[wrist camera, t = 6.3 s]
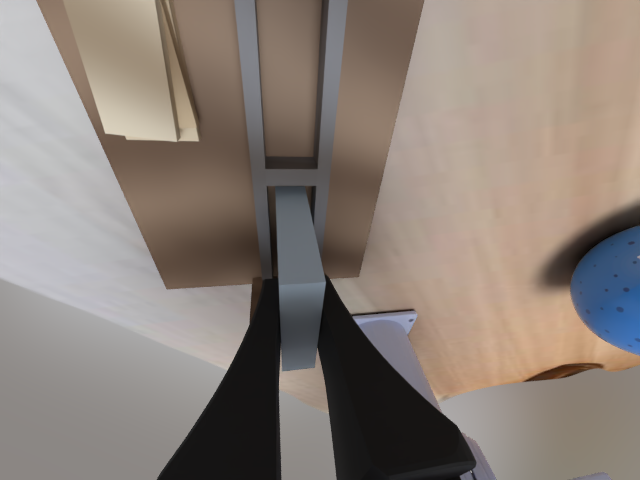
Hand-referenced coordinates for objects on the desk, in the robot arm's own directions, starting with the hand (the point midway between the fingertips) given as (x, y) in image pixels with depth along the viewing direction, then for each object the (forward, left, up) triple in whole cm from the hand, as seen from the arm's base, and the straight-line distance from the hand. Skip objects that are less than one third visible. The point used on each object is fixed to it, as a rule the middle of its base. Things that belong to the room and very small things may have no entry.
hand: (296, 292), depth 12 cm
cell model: (-4, -28, -6) cm, 29 cm away
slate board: (0, 0, -4) cm, 4 cm away
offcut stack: (+8, +5, -5) cm, 11 cm away
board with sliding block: (+4, +1, -6) cm, 7 cm away
